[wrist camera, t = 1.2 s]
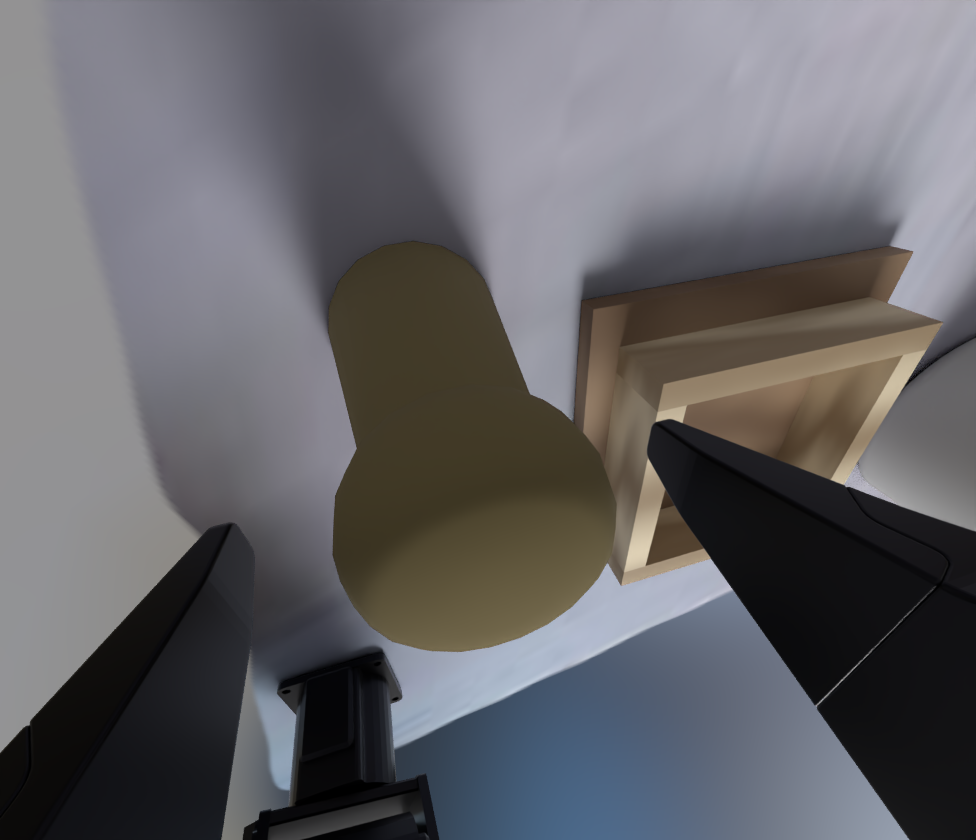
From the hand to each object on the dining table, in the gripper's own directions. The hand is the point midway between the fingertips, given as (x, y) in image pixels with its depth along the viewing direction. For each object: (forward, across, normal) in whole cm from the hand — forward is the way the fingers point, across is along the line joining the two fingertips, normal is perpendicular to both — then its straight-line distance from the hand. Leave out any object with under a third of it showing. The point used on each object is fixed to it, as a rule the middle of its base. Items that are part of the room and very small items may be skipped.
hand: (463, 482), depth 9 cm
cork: (+8, 0, 0) cm, 8 cm away
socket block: (+8, -14, +8) cm, 18 cm away
